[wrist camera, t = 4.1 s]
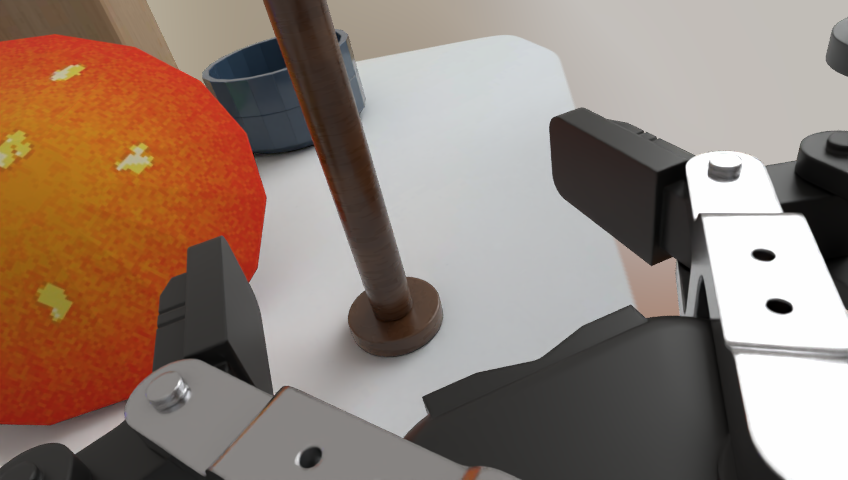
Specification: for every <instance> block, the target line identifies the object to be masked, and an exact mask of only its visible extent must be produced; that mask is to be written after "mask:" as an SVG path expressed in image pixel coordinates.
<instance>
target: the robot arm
mask: <svg viewBox="0 0 848 480" xmlns="http://www.w3.org/2000/svg"><path fill="white" fill-rule="evenodd" d="M549 132H550V146H551V161H552V175H553V180H554V184H555V186H556V188H557V190H558V192H559V194H560V195H561V196H562V197H563V198H564V199H565V200H566V201H568V202H569V203H570V204H572V205H573V206H574V207H576V208H577V209H578V210H579V211H581V212H582V213H583V214H585V215H586V216H587V217H588V218H590V219H591V220H592V221H594V222H595V223H596V224H598V225H599V226H600V227H601V228H603V229H604V230H605V231H607V232H608V233H609V234H611V235H612V236H613V237H614V238H616V239H617V240H618V241H620V242H621V243H622V244H624V245H625V246H626V247H627V248H629V249H630V250H631V251H633V252H634V253H635V254H637V255H638V256H639V257H640V258H642V259H643V260H644V261H645V262H647V263H648V264H649V265H651V266H653V265H655V264H657V263H660V262H662V261H664V260H666V259H669V258H671V257H674V258H675V259H677V260H676V273H675V274H676V282H677V292H678V302H679V311H680V316H660V317H650V318H645V317H644V316H643V315H642V314H641V313H640V312H638V311H637V310H636V309H635V308H634V307H633V306H632V305H629V306H627V307H624V308H622V309H620V310H618V311H615V312H613V313H611V314H608V315H606V316H604V317H602V318H599V319H597V320H595V321H593V322H590V323H588V324H586V325H584V326H582V327H581V328H579V329H578V330H577V331H575V332H574V333H573V334H571V335H570V336H569V337H568V338H566V339H565V340H564V341H562V342H561V343H560V344H559V345H557V346H556V347H555V348H553V349H552V350H551V351H549V352H548V353H547V354H546V355H544V356H543V357H541V358H540V359H537V360H535V361H531V362H526V363H521V364H516V365H512V366H507V367H502V368H497V369H492V370H488V371H483V372H478V373H475V374H473V375H470V376H468V377H466V378H464V379H461V380H459V381H457V382H455V383H452V384H450V385H448V386H446V387H443V388H441V389H439V390H437V391H434V392H432V393H430V394H427V395H425V396H423V397H422V398H423V401H424V404H425V408H426V411H427V414H428V415H427V416H426V417H425V418H423V419H422V420H421V421H419V422H418V423H417V424H416V425H415V426H414V427H413V428H412V429H411V430H410V431H409V432H408V433H407V434H406V436H405V437H404V438H401V437H399V436H397V435H395V434H393V433H391V432H389V431H386V430H384V429H382V428H380V427H378V426H376V425H374V424H371V423H369V422H367V421H365V420H363V419H361V418H359V417H356V416H354V415H352V414H350V413H348V412H346V411H343V410H341V409H339V408H337V407H335V406H333V405H331V404H328V403H326V402H324V401H322V400H320V399H318V398H316V397H313V396H311V395H309V394H307V393H305V392H303V391H301V390H298V389H296V388H294V387H290V386H283V387H282V388H281V389H280V390H279V391H278V392H277V393H276V394H275V395H273V388H272V382H271V375H270V369H269V363H268V356H267V350H266V343H265V337H264V331H263V324H262V318H261V313H260V309H259V306H258V303H257V300H256V297H255V295H254V293H253V290H252V288H251V286H250V284H249V283H248V281H247V279H246V277H245V275H244V273H243V271H242V269H241V267H240V265H239V263H238V261H237V259H236V257H235V256H234V254H233V252H232V250H231V248H230V246H229V244H228V242H227V241H226V239H225V238H224V237H223V236H222V235H221V236H219V237H216V238H213V239H210V240H207V241H205V242H202V243H199V244H196V245H193V246H191V247H188V249H187V270H186V273H183V274H180V275H177V276H175V277H172V278H171V279H170V281H169V282H168V284H167V285H166V287H165V289H164V290H163V292H162V293H161V295H160V300H159V310H158V312H159V315H158V320H157V327H158V329H157V330H156V339H155V349H154V359H153V369H152V373H151V374H150V375H149V376H147V377H146V378H145V379H144V380H143V381H142V382H141V383H140V384H139V385H138V386H137V387H136V388H135V389H134V391H133V392H132V394H131V395H130V397H129V399H128V401H127V403H126V406H125V411H124V415H125V421H123V422H122V423H121V424H120V425H118V426H117V427H116V428H114V429H113V430H111V431H110V432H108V433H107V434H105V435H104V436H102V437H101V438H99V439H98V440H96V441H95V442H93V443H92V444H90V445H89V446H87V447H86V448H84V449H83V450H81V451H79V452H78V453H76V454H74V453H73V452H72V451H71V450H70V449H69V448H68V447H66V446H65V445H63V444H60V443H48V444H43V445H39V446H36V447H34V448H31V449H29V450H27V451H25V452H23V453H21V454H20V455H18V456H16V457H15V458H13V459H12V460H10V461H9V462H8V463H6V464H5V465H4V466H2V467H1V468H0V480H848V314H847V312H846V309H847V310H848V131H826V132H820V133H816V134H812V135H810V136H807V137H806V138H804V139H803V140H802V141H801V144H800V148H799V152H798V157H797V160H796V161H791V162H785V163H779V164H774V165H767V166H765V165H764V163H763V162H762V161H761V160H759V159H757V158H756V157H754V156H751V155H748V154H745V153H741V152H735V151H712V152H707V153H702V154H700V155H697V156H695V155H693V154H691V153H689V152H687V151H685V150H683V149H681V148H679V147H677V146H675V145H672V144H670V143H668V142H666V141H664V140H662V139H657V138H656V136H654V135H652V134H649V133H648V132H646V133H644V131H643V130H641V129H639V128H637V127H635V126H633V125H631V124H629V123H625V122H620V121H614V120H609V119H605V118H604V117H602V116H600V115H598V114H596V113H594V112H592V111H590V110H588V109H586V108H578V109H575V110H572V111H570V112H567V113H564V114H561V115H559V116H556V117H553V118H552V119H551V121H550V126H549Z"/></svg>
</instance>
